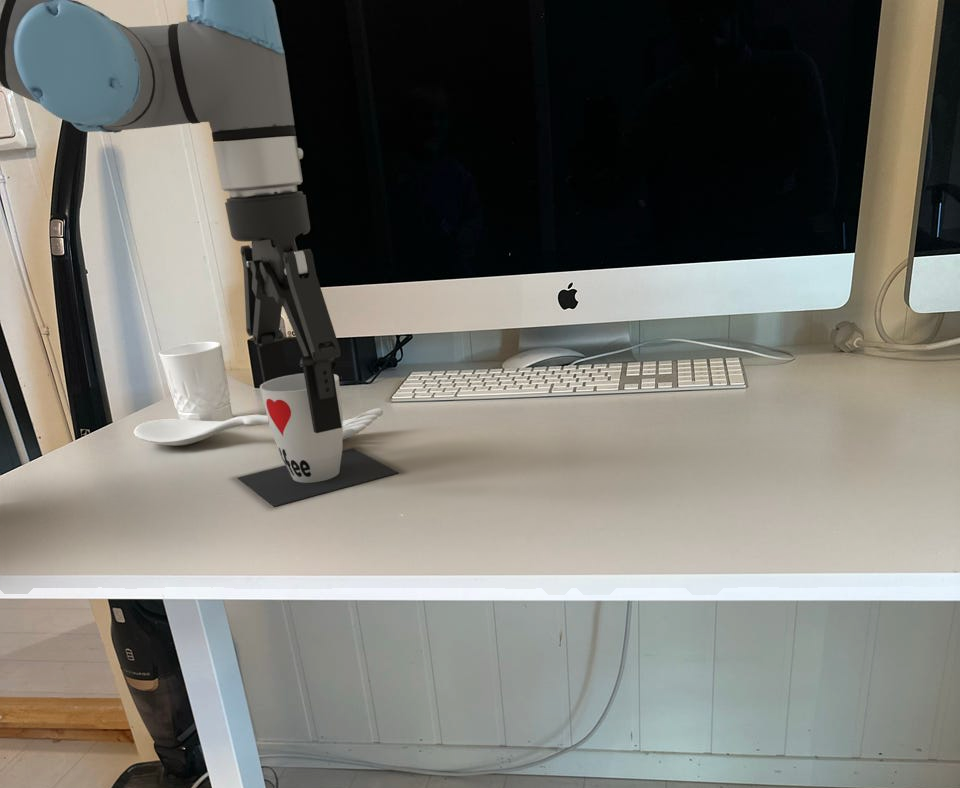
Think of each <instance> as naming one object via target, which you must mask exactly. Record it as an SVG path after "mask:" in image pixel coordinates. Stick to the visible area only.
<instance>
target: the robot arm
mask: <svg viewBox="0 0 960 788" xmlns="http://www.w3.org/2000/svg"><path fill="white" fill-rule="evenodd" d="M186 8H187V13H186V20H187V21H186V20H185V21H180V22H178V23H171V24H164V25H163V24H162V25H144V26H143V25H141V26H126V25H124V24H122V23H121V22H118V21H117V20H116V21H115V20H113V19H111V18H110V17H109V16H108V15H105V14H104V13H103V12H101V11H99V10H97V9H95V8H94V7H91V6H89V5H88V4H87V5H86V4H84V3H82V2H80V1H77V0H0V87H3V88H4V89H7V90H9V91H11V92H13V93H14V94H16V95H18V96H21V97H23V98H24V99H27V100H30V101H32V102H34V103H37V104H39V105H40V106H41V107H43V108H44V109H45V110H46V111H47V112H49V113H50V114H52V115H54V116H55V117H56V118H59V119H60V120H62V121H66V122H68V123H71V125H72V126H73V127H74V128H76V129H77V130H79V131H81V132H85V133H94V132H95V133H97V132H101V133H113V134H117V133H121V132H122V131H128V130H138V129H140V130H141V129H150V128H161V127H169V126H177V125H185V124H192V125H195V124H201V123H208V124H209V127H210V130H211V137H212V146H213V153H214V156H215V157H214V158H215V162H216V168H217V172H218V173H217V174H218V179H219V184H220V189H221V190H222V191H224V192H228V194H229V197H228V198H226V201H225V202H224V205H225V211H226V216H227V221H228V227H229V231H230V232H229V233H230V236H231V238H232V239H233V240H234V241H237V242H243V243H244V242H251V244H247V245H241V246H240V255H241V261H242V268H243V283H244V284H243V285H244V286H243V287H244V305H245V307H244V308H245V330H246V333H247V335H248V337H252V341H253V342H254V344H255V345H256V351H257V355H258V360H259V366H260V367H259V368H260V371H261V372H260V373H261V376H262V382H263V383H265V382H267V381H269V380H272V379H276V378H279V377H284V376H289V375H290V374H289V370H288V364H287V358H286V352H285V346H284V343H283V342H282V341H284V340H285V339H286V337H285V335H284V334H283V333H284V332H283V331H282V330H281V329H280V327H281V319H282V310H283V309H284V311H285V314H286V316H287V319H288V322H289V324H290V326H291V328H292V331H293V333H294V336H295V339H296V340H297V343H298V345H299V348H300V350H301V353H302V356H301V358H300V360H299V364H298V365H299V366H300V368H302V370H303V373H304V377H305V383H306V388H307V394H308V400H309V406H310V412H311V418H312V424H313V430H314V432H315V433H321V432H325V431H329V430H334V429H338V428H342V425H341V418H340V412H339V405H338V399H337V392H336V386H335V379H334V374H335V373H334V367H333V362H334V361H335V359H336V358H339V357H341V355H342V352H341V348H340V347H341V346H340V345H339V341H338V338H337V335H336V332H335V329H334V325H333V322H332V319H331V316H330V314H329V310H328V306H327V304H326V301H325V297H324V294H323V292H322V287H321V285H320V281H319V278H318V275H317V271H316V265H315V261H314V260H315V259H314V254H313V252H312V250H311V249H310V248H305V249H299V250H298V246H297V244H296V238H297V237H300V236H304V235H305V236H306V235H307V234H309V232H310V230H311V222H310V214H309V209H308V202H307V195H306V194H304V191H301V190H300V191H298V185H302V183H303V180H304V179H303V174H302V168H301V167H302V166H301V161H300V160H302V159H303V158H304V151H303V149H302V148H301V147H298V140H297V136H296V135H297V133H296V127H295V119H294V113H293V112H294V111H293V106H292V105H293V104H292V98H291V91H290V83H289V75H288V70H287V69H288V67H287V61H286V55H285V50H284V45H283V41H282V36H281V32H280V26H279V21H278V16H277V10H276V5H275V3H274V1H273V0H186Z"/></svg>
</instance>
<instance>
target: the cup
mask: <svg viewBox="0 0 960 788" xmlns="http://www.w3.org/2000/svg"><path fill="white" fill-rule="evenodd" d="M334 379H335V386H336V392H337V399H338V405H339V412H340V418H341V425H342V428H338V429H334V430H329V431H325V432H321V433H315V432H314V430H313V424H312V418H311V412H310V406H309V400H308V394H307V388H306V383H305V377H304V372H303V373H295V374H289V376H284V377H279V378H276V379H272V380H269V381H267V382H265V383H264V382H263V383H262V384H260V385H259V390H260V394H261V398H262V402H263V406H264V409H265V413H266V415H267V417H268V421H269V425H268V426H269V428H270V430H271V433H272V437H273V439H274V441H275V444H276V446H277V449H278V453H279V455H280V457H281V460H282V461H283V464H284V466H285V465H286V467H287V469H288V471H289V473H290V474H291V476H292V478H293V480H295V481H297V482H302V483H312V482H320V481H324V480H328V479H331V478H333V477H335V476H337V475H338V474H339V470H340V463H341V456H342V451H343V446H344V445H343V440H344V439H343V421H344V420H343V419H344V418H343V407H342V396H341V385H340V377H339V375H338V374H335V373H334Z"/></svg>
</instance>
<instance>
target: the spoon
mask: <svg viewBox="0 0 960 788" xmlns="http://www.w3.org/2000/svg"><path fill="white" fill-rule="evenodd" d="M383 414H384V410H383V409H382V408H380V407H377V408H376V407H375V408H373V409H370V410H367V411H365V412H363V413H361V414H359V415H357V416H355V417H353V418H349V419H344V420H343V440H345V439H349V438H352V437H353V436H355V435H357V434H359V433H360V432H362V431H364V430H365V429H366V428H367V427H369V426H370V425H372V424H373V422H374V421H376V420H377V419H378V418H380V417H381V416H383ZM267 425H268V426H270V425H269V421H268V417H267V414H266V415H264V414H263V415H262V414H260V413H259V414H251V415H250V414H249V415H239V416H233V418H231V419H228V420H226V421H223V422H222V421H200V420H187V419H179V418H160V419H154V420H148V421H144V422H142V423H140V424H138V425H137V426H136V427H135V428H134V430H133V434H134V436H135V437H137V438H138V439H140V440H142V441H145V442H148V443H152V444H155V445H162V446H177V447H178V446H179V447H181V446H187V445H188V446H189V445H192V444H196V443H198V442H200V441H204V440H206V439H209V438H210V437H213V436H215V435H217V434H219V433H221V432H224V431H226V430H228V429H230V428H231V429H232V428H233V427H239V426H247V427H254V426H267Z"/></svg>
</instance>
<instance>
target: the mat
mask: <svg viewBox="0 0 960 788" xmlns="http://www.w3.org/2000/svg"><path fill="white" fill-rule="evenodd" d="M397 474H399V471H397V470H396V469H393V468H391V467H390V466H388V465H386V464H384V463H382V462H380V461H379V460H377V459H374V458H373V457H371V456H369V455H367V454H365V453H363V452H361V451H359V450H357V449H356V448H349V449H345V450H342V456H341V463H340V470H339V474H338V475H337V476H335V477H333V478H331V479H328V480H324V481H320V482H312V483H302V482H297V481H295V480H293V478H292V476H291V474H290V473H289V471H288V469H287V467H286V465H285V464H284V465H281V466H278V467H274V468H273V467H272V468H271V469H266V470H261V471H257V472H253V473H249V474H246V475H242V476H238V477H237V479H238V480H239V481H241V483H243V484H244V485H245V486H247V487H248V488H249V489H250V490H252V491H253V492H254V493H256V494H257V495H258V496H260V497H261V498H262V499H263V500H265V501H266V502H267V503H268V504H270V505H271V506H273V508H274V507H275V508H276V507H279V506H283V505H286V504H290V503H294V502H297V501H301V500H304V499H308V498H312V497H316V496H320V495H323V494H326V493H330V492H331V493H332V492H334V491H338V490H342V489H345V488H349V487H352V486H356V485H360V484H363V483H368V482H371V481H375V480H378V479H383V478H387V477H389V476H394V475H397Z"/></svg>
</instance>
